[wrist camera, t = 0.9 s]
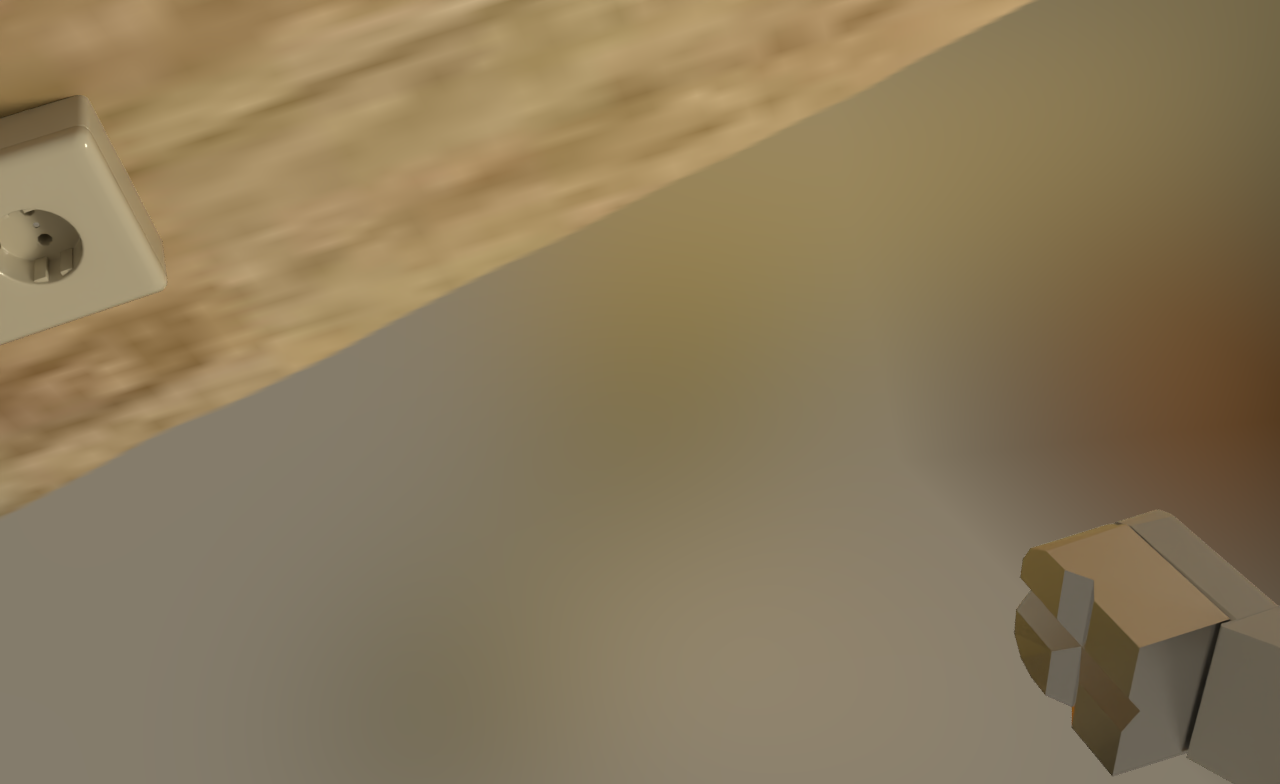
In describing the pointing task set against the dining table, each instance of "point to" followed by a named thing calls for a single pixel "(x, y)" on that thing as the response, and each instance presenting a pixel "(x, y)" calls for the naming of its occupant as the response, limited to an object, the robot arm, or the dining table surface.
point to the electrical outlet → (68, 222)
